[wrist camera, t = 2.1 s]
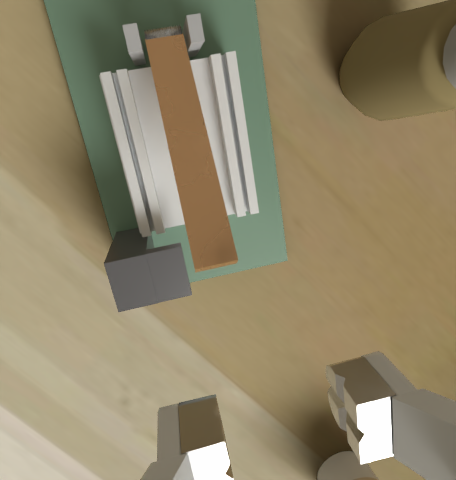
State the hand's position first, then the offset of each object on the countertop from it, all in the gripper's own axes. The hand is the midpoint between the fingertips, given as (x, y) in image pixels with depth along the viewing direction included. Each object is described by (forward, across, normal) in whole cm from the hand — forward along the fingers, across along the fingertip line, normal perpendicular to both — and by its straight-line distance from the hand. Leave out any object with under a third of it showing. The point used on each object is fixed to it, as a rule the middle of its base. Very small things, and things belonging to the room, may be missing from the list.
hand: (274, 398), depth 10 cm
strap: (+18, 0, -5) cm, 19 cm away
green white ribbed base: (+27, 0, -6) cm, 28 cm away
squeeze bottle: (+27, -18, -8) cm, 34 cm away
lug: (+26, +5, +4) cm, 27 cm away
